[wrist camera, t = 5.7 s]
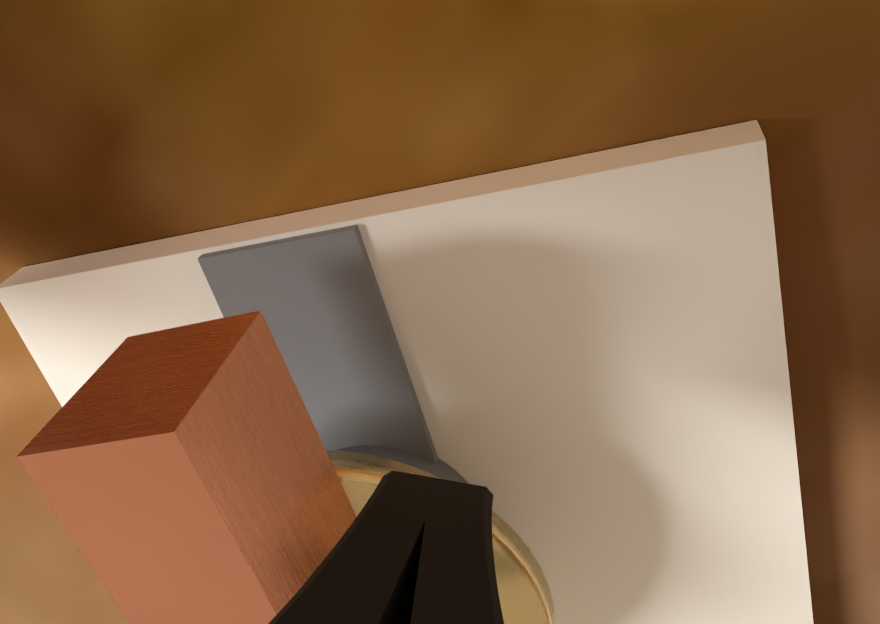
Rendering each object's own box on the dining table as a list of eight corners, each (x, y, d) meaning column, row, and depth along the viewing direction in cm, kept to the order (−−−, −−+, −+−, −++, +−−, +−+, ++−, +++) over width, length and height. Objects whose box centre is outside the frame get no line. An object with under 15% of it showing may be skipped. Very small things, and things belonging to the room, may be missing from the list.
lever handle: (267, 726, 19) (201, 902, 16) (27, 337, 15) (-133, 480, 12) (594, 716, 17) (589, 918, 14) (434, 251, 12) (372, 400, 9)
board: (22, 267, 18) (-75, 341, 16) (756, 119, 14) (788, 189, 11) (259, 689, 24) (217, 791, 22) (813, 677, 20) (842, 802, 18)
